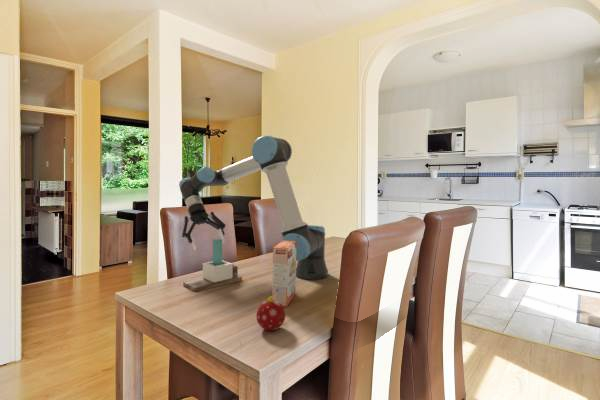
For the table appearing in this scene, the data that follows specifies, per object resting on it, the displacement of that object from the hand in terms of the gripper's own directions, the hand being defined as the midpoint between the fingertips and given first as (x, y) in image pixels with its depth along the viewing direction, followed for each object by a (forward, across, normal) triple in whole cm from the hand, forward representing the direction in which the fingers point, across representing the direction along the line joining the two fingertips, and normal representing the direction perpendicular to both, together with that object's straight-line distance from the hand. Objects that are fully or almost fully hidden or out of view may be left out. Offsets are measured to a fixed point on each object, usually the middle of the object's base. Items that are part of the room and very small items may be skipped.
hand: (209, 245), depth 155 cm
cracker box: (+40, -10, +25) cm, 48 cm away
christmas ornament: (+50, +6, +40) cm, 64 cm away
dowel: (+15, +2, +2) cm, 15 cm away
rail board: (+18, +4, 0) cm, 18 cm away
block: (+16, +2, +1) cm, 16 cm away
